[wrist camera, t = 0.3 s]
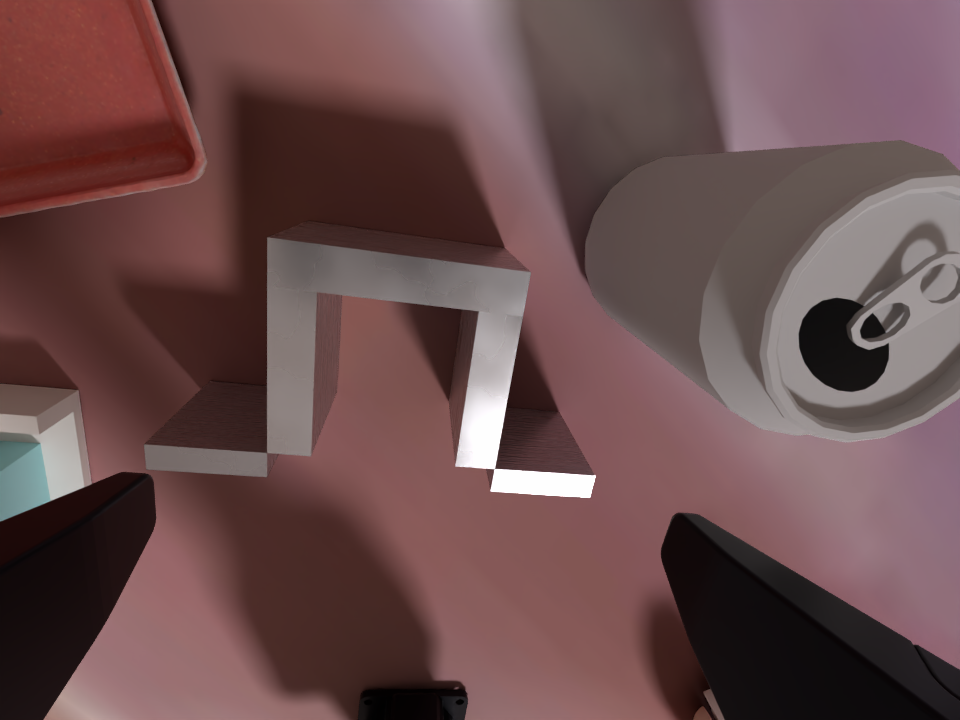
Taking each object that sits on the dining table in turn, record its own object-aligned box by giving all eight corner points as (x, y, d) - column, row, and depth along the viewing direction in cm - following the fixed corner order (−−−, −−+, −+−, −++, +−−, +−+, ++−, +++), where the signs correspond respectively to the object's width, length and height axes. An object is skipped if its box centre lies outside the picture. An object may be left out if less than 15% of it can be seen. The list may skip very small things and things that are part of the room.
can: (543, 256, 21) (670, 347, 10) (668, 114, 20) (978, 38, 9) (653, 357, 24) (854, 521, 13) (773, 236, 22) (1124, 300, 11)
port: (555, 430, 25) (589, 497, 19) (210, 401, 22) (146, 469, 17) (593, 260, 22) (645, 287, 17) (202, 206, 19) (122, 218, 14)
